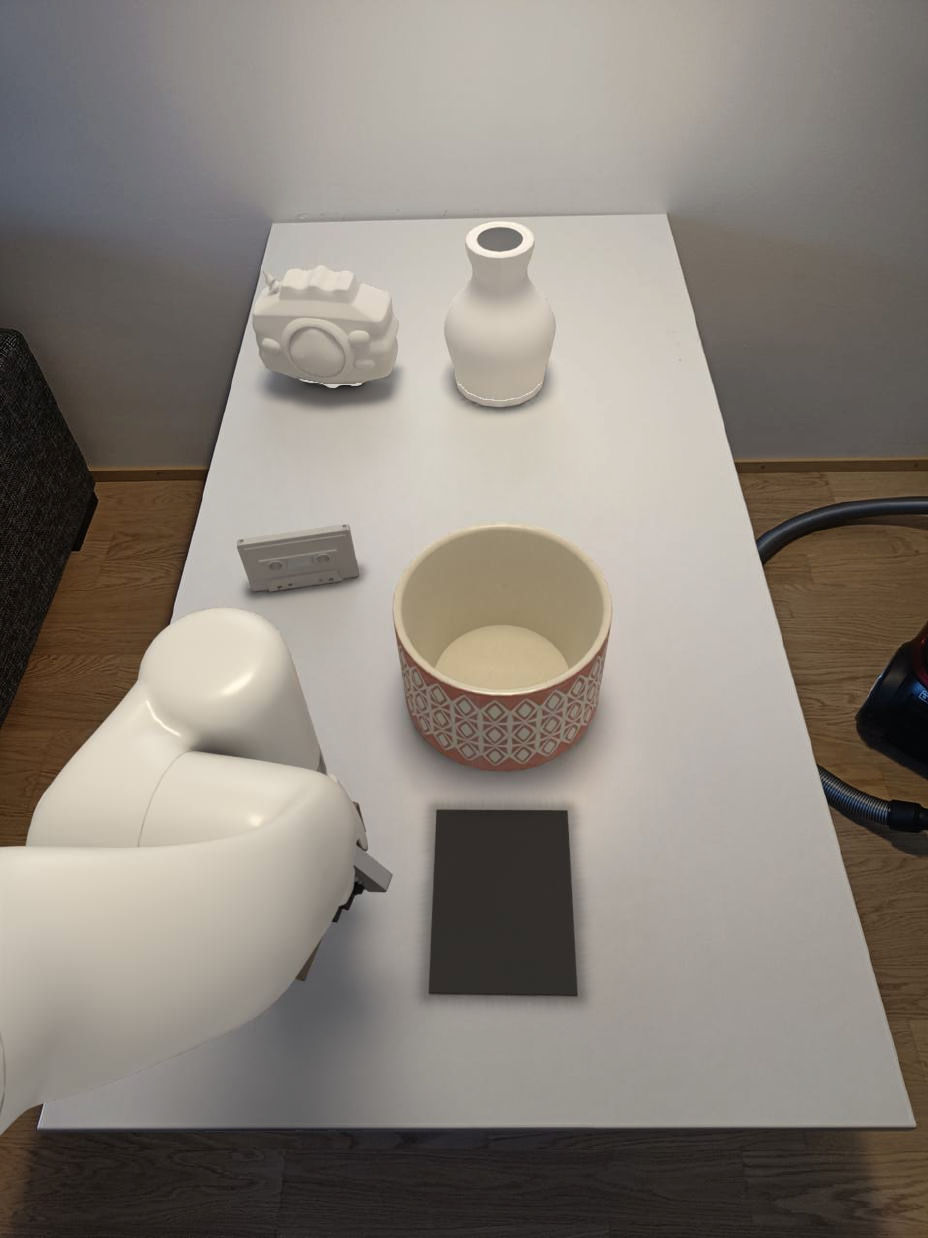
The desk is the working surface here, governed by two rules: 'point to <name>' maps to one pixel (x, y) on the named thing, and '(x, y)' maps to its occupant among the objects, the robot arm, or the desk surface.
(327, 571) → the cassette
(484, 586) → the planter
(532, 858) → the black mat
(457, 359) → the vase
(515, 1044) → the desk surface
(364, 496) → the desk surface
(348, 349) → the camera
